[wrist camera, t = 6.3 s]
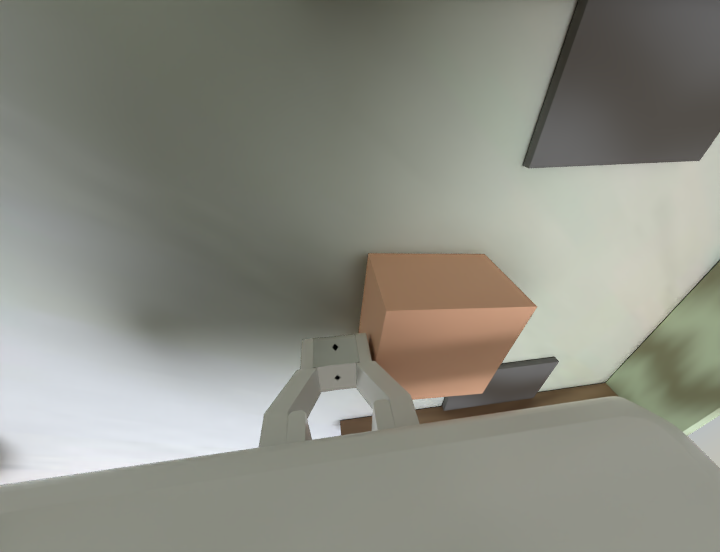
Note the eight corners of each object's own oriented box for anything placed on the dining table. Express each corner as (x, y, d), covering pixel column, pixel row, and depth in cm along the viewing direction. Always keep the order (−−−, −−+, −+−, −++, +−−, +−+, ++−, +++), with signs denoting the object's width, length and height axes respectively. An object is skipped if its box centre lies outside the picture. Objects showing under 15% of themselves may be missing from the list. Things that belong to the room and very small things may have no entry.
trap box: (289, -79, 6) (247, -348, 2) (1024, -36, 9) (1578, -131, 5) (340, 426, 22) (346, 504, 18) (611, 387, 24) (669, 446, 20)
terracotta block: (368, 252, 12) (386, 310, 9) (484, 253, 13) (537, 306, 10) (357, 339, 16) (368, 403, 13) (450, 334, 17) (482, 393, 14)
